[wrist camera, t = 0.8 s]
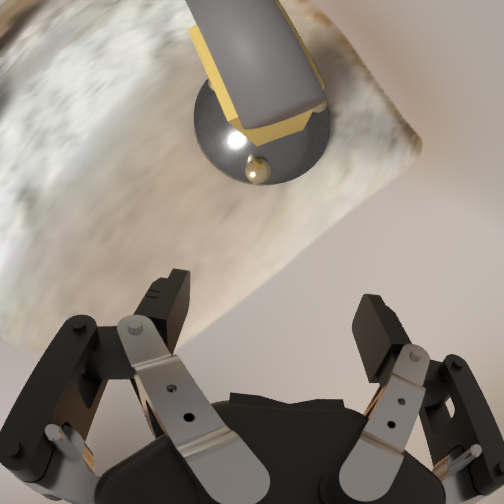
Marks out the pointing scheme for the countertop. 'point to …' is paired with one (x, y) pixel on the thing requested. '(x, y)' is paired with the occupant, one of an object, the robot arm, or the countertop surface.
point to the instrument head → (256, 66)
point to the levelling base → (257, 157)
